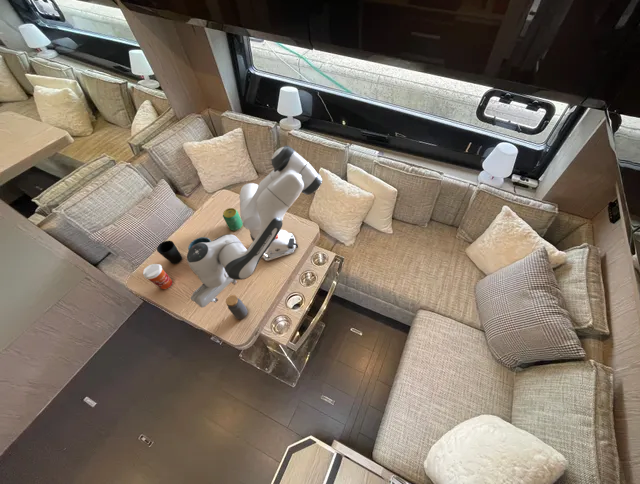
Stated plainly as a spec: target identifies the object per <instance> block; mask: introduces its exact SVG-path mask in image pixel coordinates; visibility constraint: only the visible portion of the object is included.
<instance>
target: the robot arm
mask: <svg viewBox="0 0 640 484" xmlns="http://www.w3.org/2000/svg"><path fill="white" fill-rule="evenodd" d="M270 161H271V165H272V168H273V169H272V170H271V171H270V172H269V173H268V174H267V175H266V176H265V177H264V178H263V179H262V180H261V181H260V182H259V183H258V184H257V183H253V182H250V183H249V182H248V183H245V184H244V185H242V186H241V188H240V191H239V197H238V198H239V211H240V212H239V216H240V218H241V220H242V223H243V225H242V227H244V228H245V229H246V230H248V231H249V234H250V238H251V240H252V242H251V244H250V245H249V247H248V248H246V246H245V245H244V244H243V243H242V241H241V240H240V239H239V238H238V237H237V236H236V235H235V234H231V233H229V234H228V233H227V234H222V235H220V236H218V237H215V239H213V240H211V241H212V242H208V243H204V242H202V243H197V244H195V245H193V246H192V247H191V248H190V249H189V251H188V250H187V253H186V262H187V265H188V266H189V269H191V271H192V272H193V274H195V276H197V278H198V280H199V281H200V282H201V283H202V284H201V285H199V287H198V288H197V289H195V290H194V291H193V292H192V294H191V296H190V300H191V301H192V302H194V303H195V304H197V306H199V307H200V308H205V307H207V306H208V305H209V304H210V303H215V304H216V303H217V302H218V301H219V298H218V297H217V296H219V295H220V294H221V292H222V291H224V289H226V288H227V287H228V286H229V285H230V284H233V285H234V286H235V285H236V284H237V283H238V282H237V281H239V280H240V281H241V280H246V279H248V278H249V277H251V276H252V275H253V274H254V273H255V271H256V269H257V267H258V265H259V263H260V261H261V260H262V259H263V260H264V261H266V262H268V261H269V262H270V261H272V260H275V259H278V258H282V257H285V256H288V255H291V254H293V253H294V252H295V250H296V249H298V248H299V244H298V243H296V238H295V236H294V234H293V233H292V232H288V231H287V230H285V229H282V228H283V219H284V217H285V215H286V213H287V212H288V210H290V208H291V207H292V206H293V204H294V203H296V201H297V199H298V198H299V196H300V195H301V194H304V195H306V196H308V195H309V196H310V195H313V194H314V193H316V192H317V191H318V190H319V189H320V187H321V186H322V184H323V178H322V176H321V174H320V173H319V172H317V171H316V169H315V168H314V166H312V164H311V163H310V162H309V161H307V159H305V158H304V157H303V156H302V155H301V154H299V153H298V152H297V151H296V150H295V149H294V148H293V147H291V146H290V145H283V146H282V147H279V148H277V150H274V153H273V154H272V156H271V159H270Z"/></svg>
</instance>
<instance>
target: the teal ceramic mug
mask: <svg viewBox="0 0 640 484" xmlns="http://www.w3.org/2000/svg"><path fill="white" fill-rule="evenodd" d="M212 241H213V240H212V239H210V238H209V237H206V236H200V237H197V238H195V239H193V240H192V241H191V242H190V243H189V245H188V247H187V252H188V251H189V249H190V248H191V247H192V246H193V245H195V244H197V243H202V242H204V243H208V242H212Z"/></svg>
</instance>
